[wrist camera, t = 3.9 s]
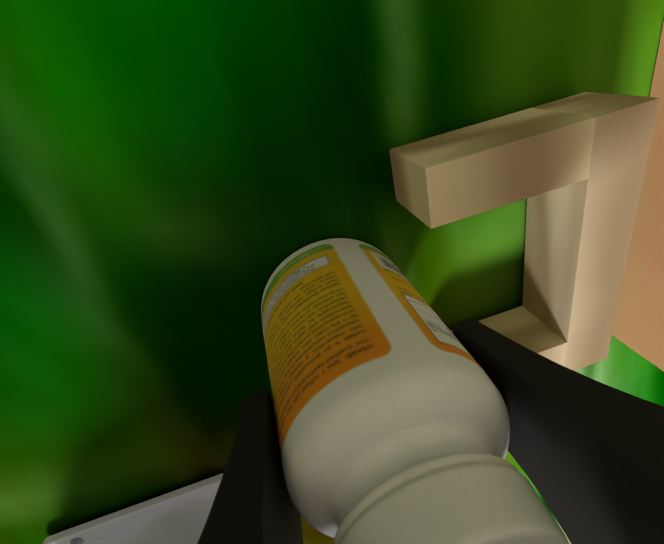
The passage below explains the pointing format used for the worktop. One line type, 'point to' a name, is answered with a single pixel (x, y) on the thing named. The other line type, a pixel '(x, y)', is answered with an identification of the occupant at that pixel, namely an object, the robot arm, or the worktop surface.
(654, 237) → the rail
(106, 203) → the worktop surface
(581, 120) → the slot block
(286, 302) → the supplement bottle
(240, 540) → the robot arm
